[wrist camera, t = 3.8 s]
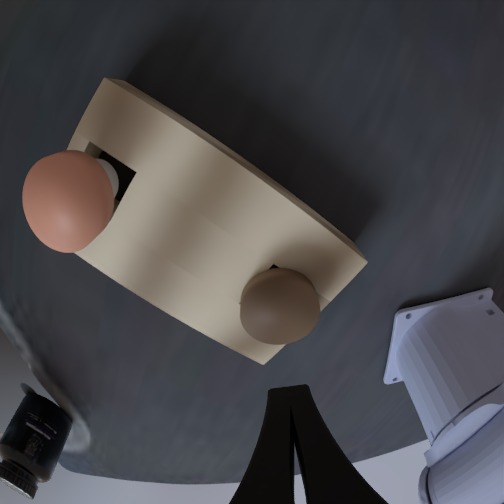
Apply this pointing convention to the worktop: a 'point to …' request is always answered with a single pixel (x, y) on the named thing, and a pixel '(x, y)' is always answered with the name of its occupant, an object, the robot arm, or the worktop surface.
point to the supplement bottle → (33, 444)
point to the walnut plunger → (279, 306)
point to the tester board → (200, 220)
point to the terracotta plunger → (69, 199)
